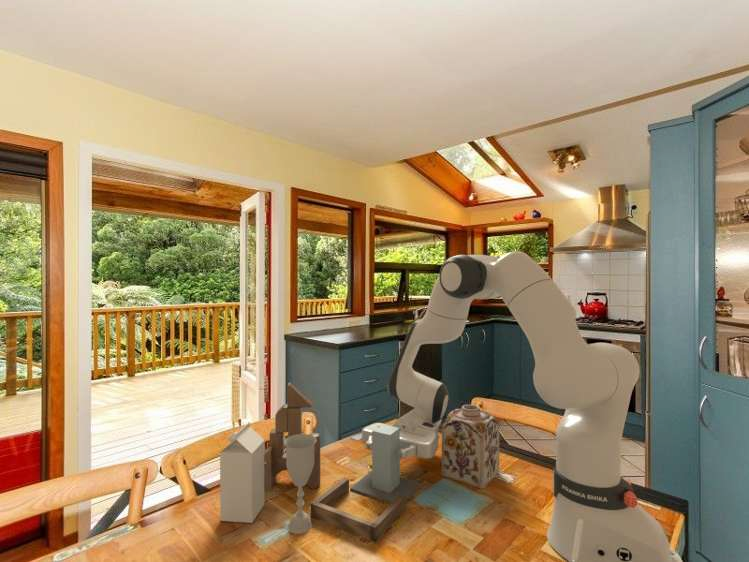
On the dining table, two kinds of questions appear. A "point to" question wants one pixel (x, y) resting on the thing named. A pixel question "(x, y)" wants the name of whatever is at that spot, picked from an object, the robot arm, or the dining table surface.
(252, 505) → the milk carton
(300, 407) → the wooden toy
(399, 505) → the wooden rectangular frame
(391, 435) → the block
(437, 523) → the dining table surface
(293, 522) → the chalice
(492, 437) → the decorative jar
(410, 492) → the dark grey flat plate
